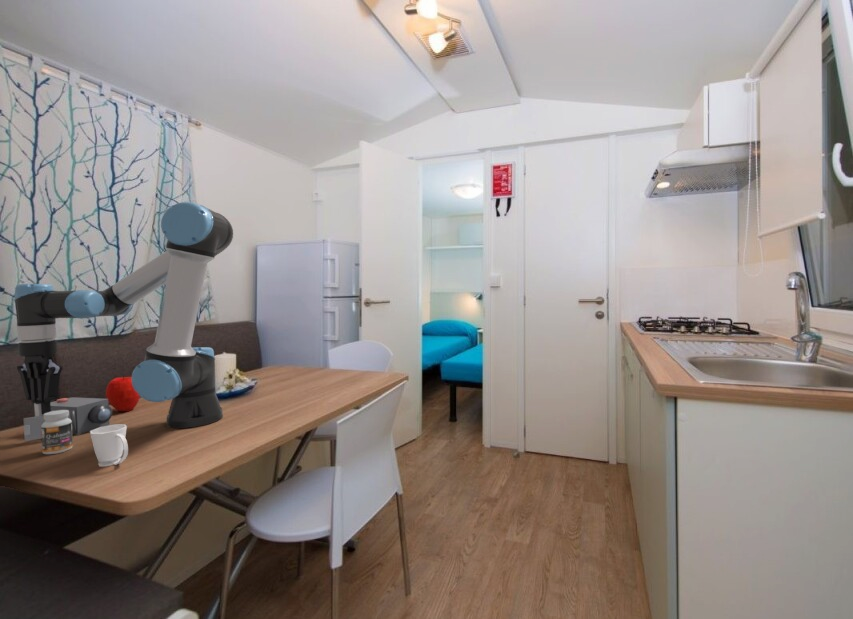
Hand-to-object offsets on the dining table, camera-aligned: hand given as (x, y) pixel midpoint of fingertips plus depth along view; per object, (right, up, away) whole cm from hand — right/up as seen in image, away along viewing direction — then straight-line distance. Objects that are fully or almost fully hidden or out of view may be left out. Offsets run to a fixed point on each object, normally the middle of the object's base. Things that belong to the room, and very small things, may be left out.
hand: (43, 425), depth 108 cm
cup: (+33, -4, -17) cm, 37 cm away
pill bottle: (+12, -4, -8) cm, 15 cm away
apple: (+1, -3, +28) cm, 28 cm away
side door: (+2, -3, 0) cm, 4 cm away
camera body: (+2, -4, +9) cm, 10 cm away
